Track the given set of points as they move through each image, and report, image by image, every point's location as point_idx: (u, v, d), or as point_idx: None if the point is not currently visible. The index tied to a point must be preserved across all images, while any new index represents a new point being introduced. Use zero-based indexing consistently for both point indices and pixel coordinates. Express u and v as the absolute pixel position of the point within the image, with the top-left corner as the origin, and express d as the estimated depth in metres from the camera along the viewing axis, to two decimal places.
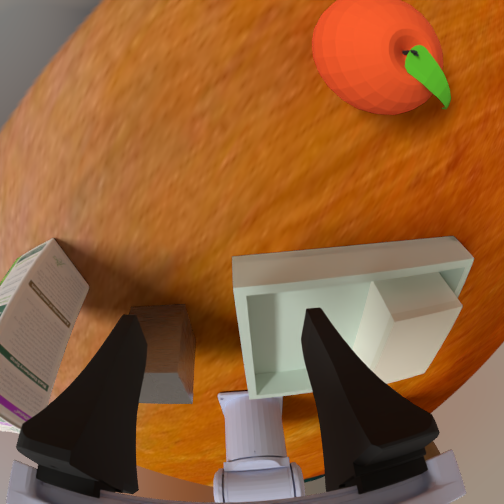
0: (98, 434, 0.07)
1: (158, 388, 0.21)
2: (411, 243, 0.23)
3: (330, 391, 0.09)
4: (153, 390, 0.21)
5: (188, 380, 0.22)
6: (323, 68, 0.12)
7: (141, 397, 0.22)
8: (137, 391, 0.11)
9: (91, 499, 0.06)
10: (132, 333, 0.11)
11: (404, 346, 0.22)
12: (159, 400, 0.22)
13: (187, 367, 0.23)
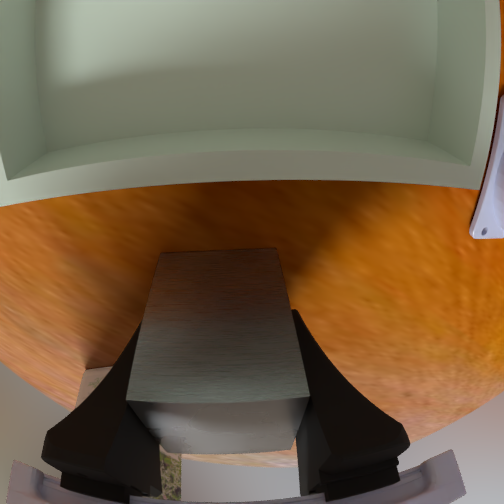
0: (128, 438, 0.07)
1: (214, 430, 0.08)
2: None
3: None
4: (228, 435, 0.09)
5: (242, 362, 0.08)
6: None
7: (264, 446, 0.10)
8: None
9: (91, 499, 0.06)
10: None
11: None
12: (279, 433, 0.09)
13: (221, 339, 0.09)
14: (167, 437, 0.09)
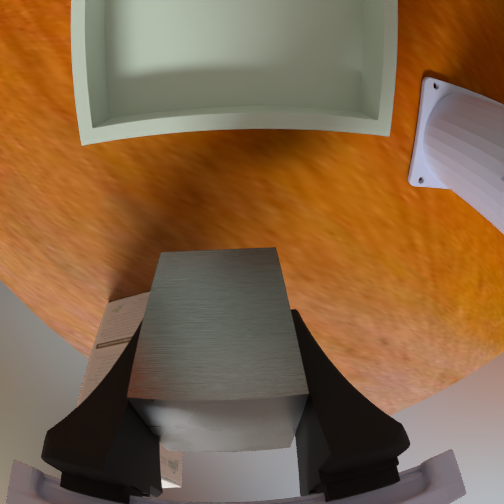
0: (128, 438, 0.07)
1: (215, 427, 0.08)
2: None
3: None
4: (228, 432, 0.09)
5: (242, 360, 0.08)
6: None
7: (264, 444, 0.10)
8: None
9: (91, 499, 0.06)
10: None
11: None
12: (279, 430, 0.09)
13: (221, 337, 0.09)
14: (167, 435, 0.09)
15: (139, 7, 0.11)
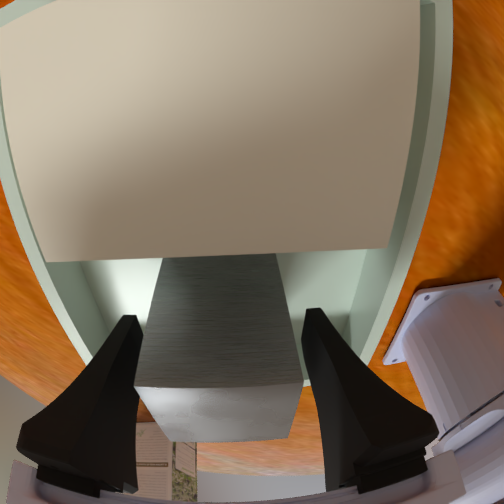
0: (98, 434, 0.07)
1: (215, 416, 0.09)
2: None
3: (330, 391, 0.09)
4: (229, 422, 0.09)
5: (241, 351, 0.09)
6: None
7: (262, 434, 0.10)
8: None
9: (91, 499, 0.06)
10: (132, 333, 0.11)
11: (140, 183, 0.06)
12: (276, 419, 0.10)
13: (222, 330, 0.10)
14: (171, 425, 0.10)
15: (117, 266, 0.14)
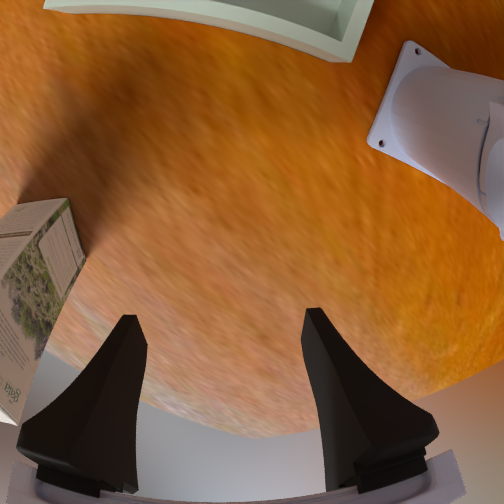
0: (98, 434, 0.07)
1: None
2: None
3: (330, 391, 0.09)
4: None
5: None
6: None
7: None
8: (137, 391, 0.11)
9: (91, 499, 0.06)
10: (132, 333, 0.11)
11: None
12: None
13: None
14: None
15: None
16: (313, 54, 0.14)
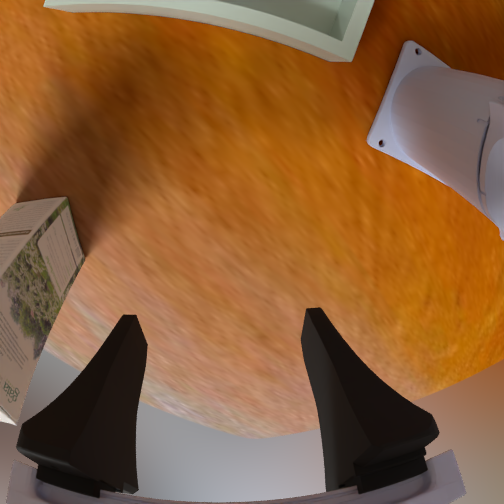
0: (98, 434, 0.07)
1: None
2: None
3: (330, 391, 0.09)
4: None
5: None
6: None
7: None
8: (137, 391, 0.11)
9: (91, 499, 0.06)
10: (132, 333, 0.11)
11: None
12: None
13: None
14: None
15: None
16: (313, 53, 0.14)
